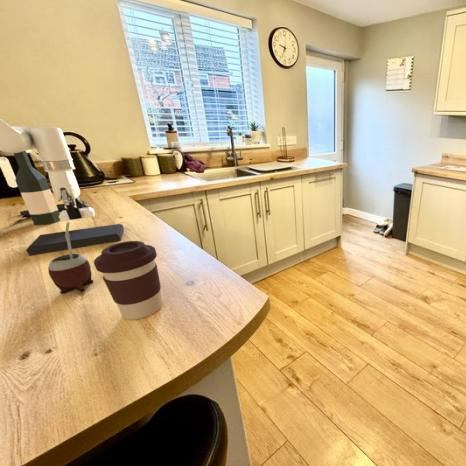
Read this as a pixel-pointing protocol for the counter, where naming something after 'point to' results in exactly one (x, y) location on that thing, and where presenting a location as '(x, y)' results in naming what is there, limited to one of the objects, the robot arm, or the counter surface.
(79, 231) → the dark grey flat bar
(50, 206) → the wine bottle
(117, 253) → the coffee cup
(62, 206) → the door handle
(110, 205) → the counter surface
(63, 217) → the soap bar
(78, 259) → the mate gourd
